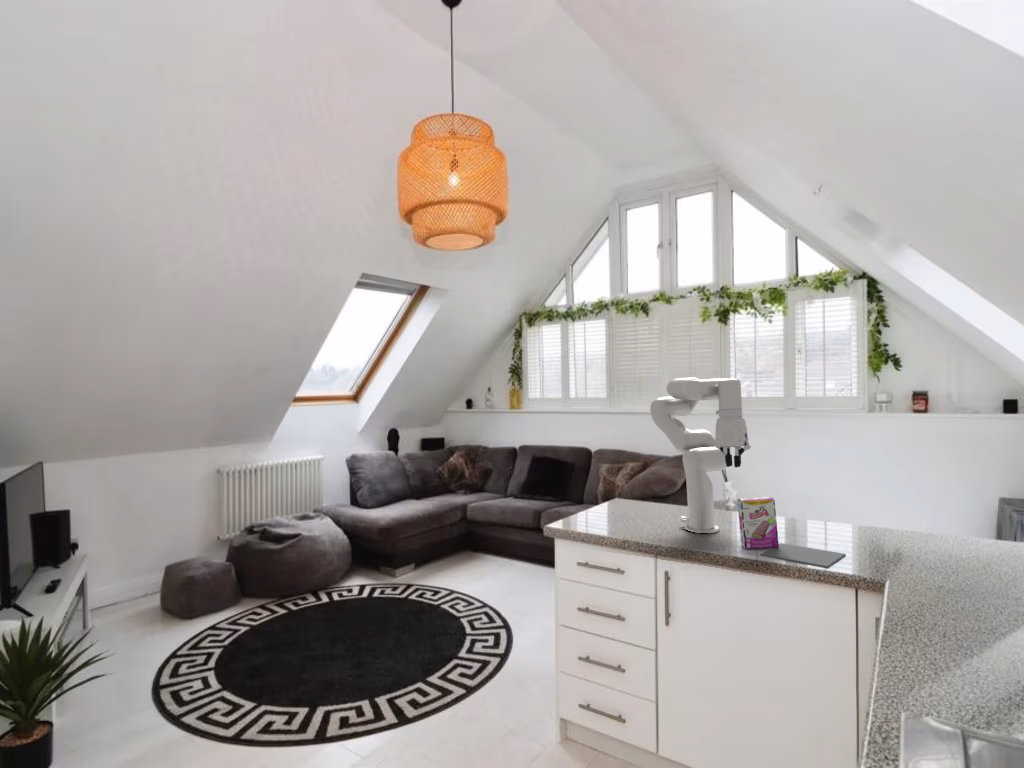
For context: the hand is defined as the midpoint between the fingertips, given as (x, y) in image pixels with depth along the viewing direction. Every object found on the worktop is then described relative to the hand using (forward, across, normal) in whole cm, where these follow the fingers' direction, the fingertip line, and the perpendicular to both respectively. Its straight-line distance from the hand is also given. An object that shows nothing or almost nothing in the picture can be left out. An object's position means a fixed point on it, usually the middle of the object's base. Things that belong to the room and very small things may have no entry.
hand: (733, 466), depth 196 cm
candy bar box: (+27, +8, 0) cm, 28 cm away
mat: (+27, +22, 0) cm, 35 cm away
